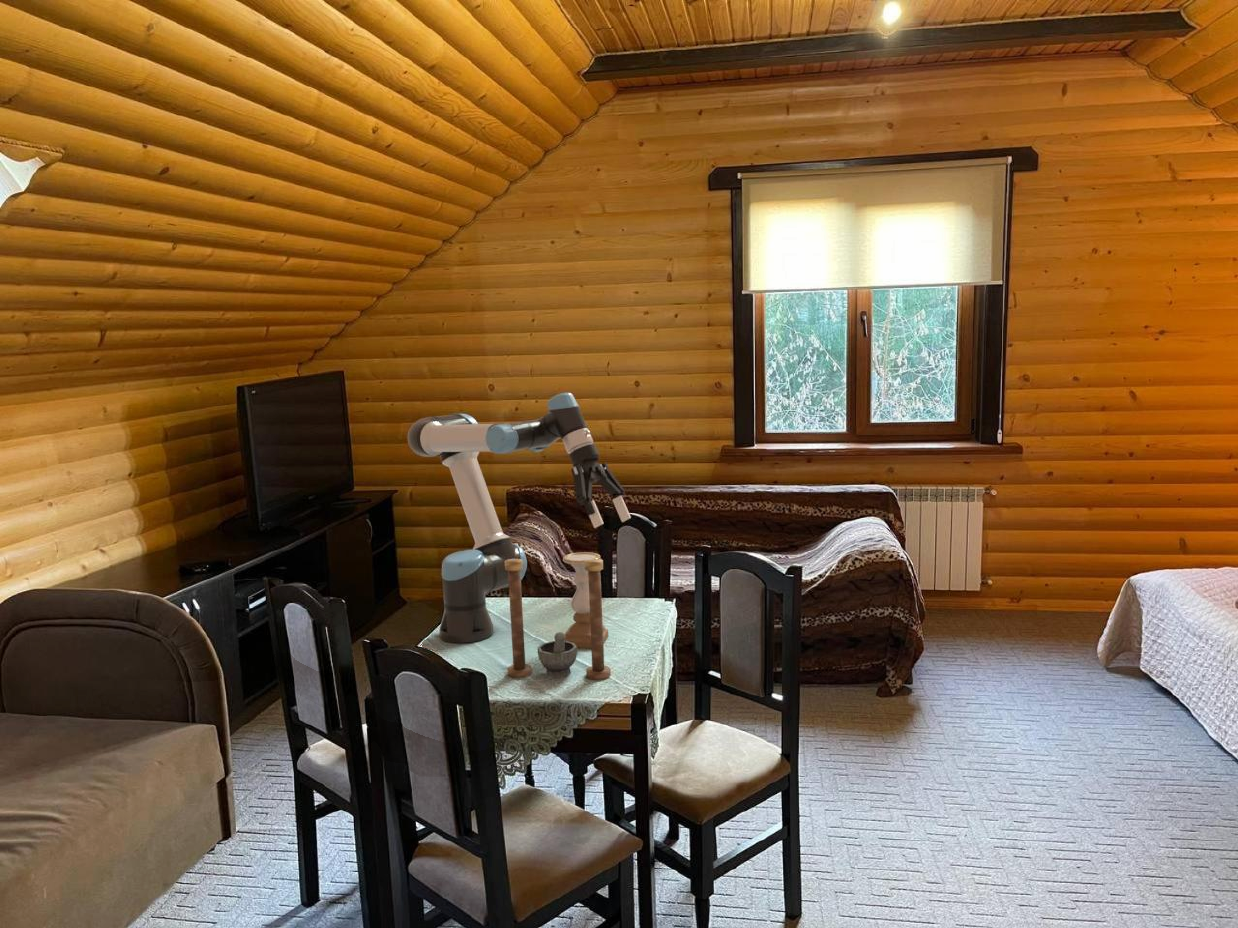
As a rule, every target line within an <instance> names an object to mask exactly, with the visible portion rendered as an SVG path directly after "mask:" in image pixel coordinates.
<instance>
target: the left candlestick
mask: <svg viewBox="0 0 1238 928" xmlns="http://www.w3.org/2000/svg"><path fill="white" fill-rule="evenodd" d="M522 569H523V560H522V559H508V560H505V570H507V571H508V579H509V587H508V593H509V609H510V611H509V612H510V613H509V614H510V615H509V616H510V630H511V646H512V647H511V648H512V649H511V651H512V663H513V664H512V665H509V666H508V667H507V668H506V669H507V676H508V677H509V678H512V679H524V678H527V677H530V676H532V674H533V671H532V670H533V669H532V665H530V664H528V663H527V664H526V654H525V653H526V651H525V637H524V636H525V634H524V631H525V630H524V614H523V596H522V595H523V594H522V580H521V573H520V570H522Z"/></svg>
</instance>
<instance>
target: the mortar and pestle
mask: <svg viewBox="0 0 1238 928" xmlns="http://www.w3.org/2000/svg"><path fill="white" fill-rule="evenodd" d="M565 639H566V636H565V633H564V632H560V631H559V632H556V633H555V635H554V640H553V641H548V642H543V643H542V644H540V645H539V646H537V655H538V660H539V661H540V664H541V665H542V667H543V668H544V669H545V675H546V677H547V678H551V679H563V678H567V677H569V676H570V675H571V673H572V672H571V671H572V670H571V667H572V666H573V665H574V664H575V662H576V659H577V655H578V648H577V646H576V645H575V643H572V642H568V641H565Z"/></svg>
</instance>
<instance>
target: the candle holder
mask: <svg viewBox="0 0 1238 928" xmlns="http://www.w3.org/2000/svg"><path fill="white" fill-rule="evenodd" d="M588 559H601V555H600V554H599V553H596V552H592V551H591V552H587V551H583V552H574V553H573V552H572V553H568V554H566V555H564V556H563V557H562V561H563V562H564V563H565V564H568V565H572V567H573V569H574V571H575V576H574V577H573V579H572V580H573V581H572V582H574V584H575V586H576V591H575V593H574V595H573V597H572V598H571V600H570V608H571V610H572V611H573V612H575V613H574V614H573V616H572V617H573V618H572V619H573V621H574V622H575V623H572V624H571V625H570V626H569V627H568V629H567V630H566V631H565V633H564V634H565V636H566V639H565V641H568V642H572V643H575V645H576V646H577V649H591V628H590V605H589V581H588V571H586V570H585V560H588ZM608 637H609V630H608V628H606V626H605V624H603V645H604V644H605V642H606V641H607V639H608Z"/></svg>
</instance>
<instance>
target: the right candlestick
mask: <svg viewBox="0 0 1238 928" xmlns="http://www.w3.org/2000/svg"><path fill="white" fill-rule="evenodd" d="M585 570H586V571H588V581H589V605H590V628H591V648H590V649H591V650H590V651H591V652H590V653H591V666H588V667H587V668H586V669H585V675H586V678H587V679H589V680H594V681H602V680H606V679H609V678H610V677H611V673H612V672H611V671H612V670H611V667H609V666H608V665H605V653H604V652H605V651H604V649H605V648H604V644H603V625H604V624H603V622H604V621H603V604H602V601H603V600H602V581H601V580H602V577H601V575H602V574H601V571H602V570H604V560H603V559H602V558H600V559H588V560H585Z"/></svg>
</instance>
